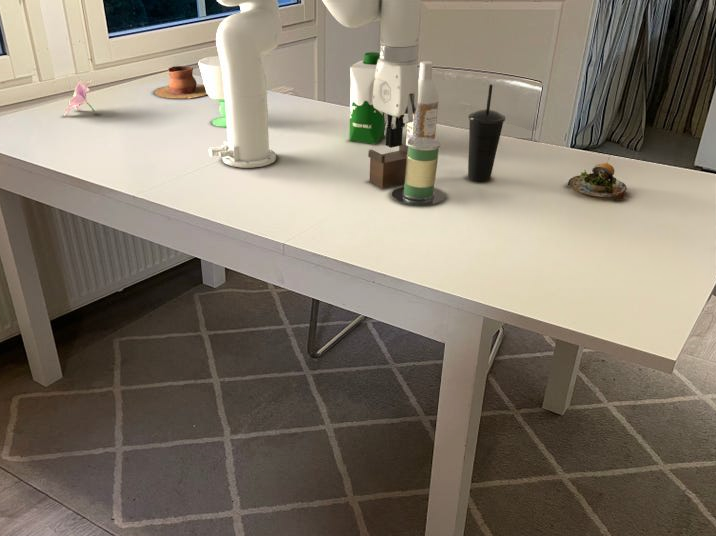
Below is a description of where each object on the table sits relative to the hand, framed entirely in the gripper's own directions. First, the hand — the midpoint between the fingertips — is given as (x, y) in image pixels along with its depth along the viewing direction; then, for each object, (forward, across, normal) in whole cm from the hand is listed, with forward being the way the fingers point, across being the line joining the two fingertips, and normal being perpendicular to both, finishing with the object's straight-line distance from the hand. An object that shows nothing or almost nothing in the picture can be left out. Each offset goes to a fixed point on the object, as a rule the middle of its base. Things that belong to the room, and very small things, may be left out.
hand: (393, 145), depth 151 cm
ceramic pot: (+8, -99, -9) cm, 99 cm away
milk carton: (+8, -29, +13) cm, 33 cm away
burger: (+9, +27, +34) cm, 44 cm away
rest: (+8, 0, 0) cm, 8 cm away
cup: (+8, -61, -11) cm, 62 cm away
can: (+2, +10, 0) cm, 10 cm away
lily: (+8, -90, -43) cm, 100 cm away
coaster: (+8, +10, 0) cm, 13 cm away
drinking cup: (+8, +8, +18) cm, 21 cm away
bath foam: (+8, -16, +20) cm, 27 cm away
